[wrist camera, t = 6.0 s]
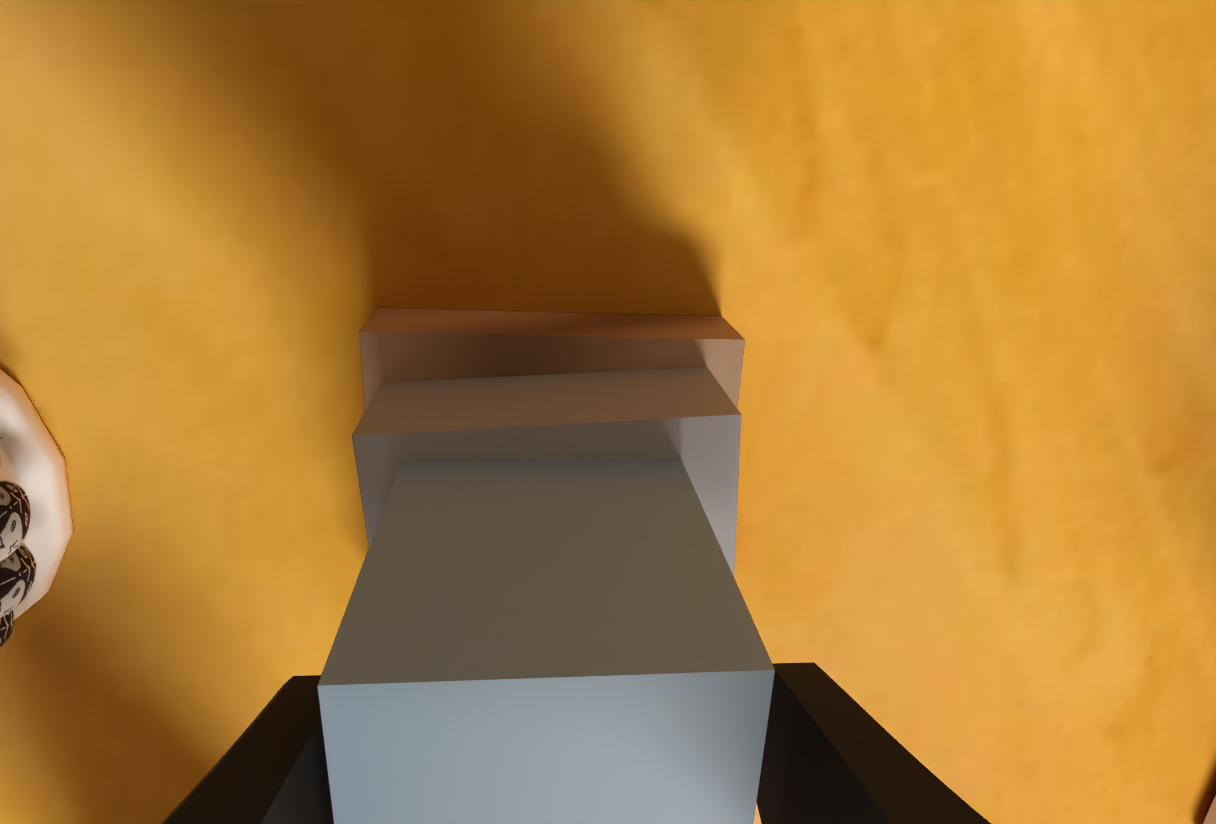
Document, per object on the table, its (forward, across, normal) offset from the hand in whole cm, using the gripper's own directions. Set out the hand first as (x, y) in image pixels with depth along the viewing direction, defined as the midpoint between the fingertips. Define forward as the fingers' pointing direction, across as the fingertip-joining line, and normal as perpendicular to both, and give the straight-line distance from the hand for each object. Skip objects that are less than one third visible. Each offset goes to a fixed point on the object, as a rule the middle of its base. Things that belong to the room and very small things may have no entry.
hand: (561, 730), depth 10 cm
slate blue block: (+3, 0, 0) cm, 3 cm away
